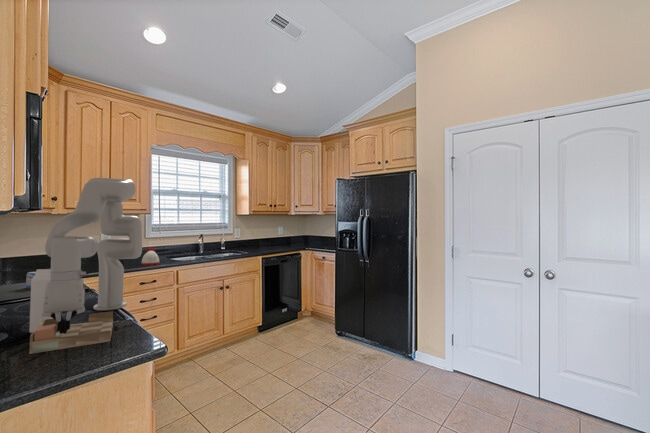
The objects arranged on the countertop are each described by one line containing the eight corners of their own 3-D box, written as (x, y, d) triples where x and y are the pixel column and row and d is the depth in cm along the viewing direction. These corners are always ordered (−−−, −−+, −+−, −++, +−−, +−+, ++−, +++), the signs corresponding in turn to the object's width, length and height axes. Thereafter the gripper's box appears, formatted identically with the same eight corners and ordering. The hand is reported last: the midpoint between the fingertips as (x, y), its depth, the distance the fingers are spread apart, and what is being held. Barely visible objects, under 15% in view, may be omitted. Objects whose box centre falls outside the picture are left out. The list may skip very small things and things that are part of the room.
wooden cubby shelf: (43, 335, 107) (43, 319, 107) (112, 325, 118) (113, 311, 118) (29, 353, 92) (30, 335, 92) (110, 341, 103) (110, 324, 103)
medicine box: (25, 288, 174) (26, 272, 174) (34, 286, 178) (35, 271, 178) (36, 289, 172) (36, 273, 172) (45, 287, 176) (45, 272, 176)
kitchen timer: (140, 263, 273) (141, 246, 273) (157, 262, 281) (158, 246, 281) (142, 265, 262) (143, 247, 262) (160, 264, 270) (161, 247, 270)
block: (36, 339, 97) (37, 326, 97) (55, 336, 100) (56, 324, 100) (34, 344, 93) (34, 331, 93) (53, 341, 96) (54, 328, 96)
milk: (49, 331, 111) (51, 270, 111) (28, 332, 109) (31, 270, 109) (58, 325, 116) (60, 267, 116) (38, 326, 114) (40, 268, 115)
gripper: (95, 272, 107) (93, 325, 107) (37, 276, 99) (35, 332, 99) (93, 276, 101) (91, 331, 101) (31, 279, 93) (29, 340, 93)
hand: (63, 332), depth 100 cm, fingers closed
